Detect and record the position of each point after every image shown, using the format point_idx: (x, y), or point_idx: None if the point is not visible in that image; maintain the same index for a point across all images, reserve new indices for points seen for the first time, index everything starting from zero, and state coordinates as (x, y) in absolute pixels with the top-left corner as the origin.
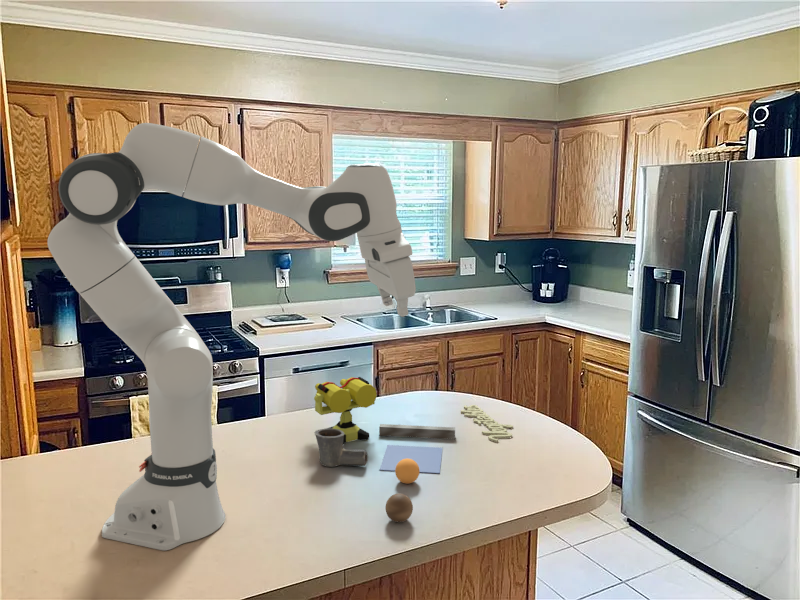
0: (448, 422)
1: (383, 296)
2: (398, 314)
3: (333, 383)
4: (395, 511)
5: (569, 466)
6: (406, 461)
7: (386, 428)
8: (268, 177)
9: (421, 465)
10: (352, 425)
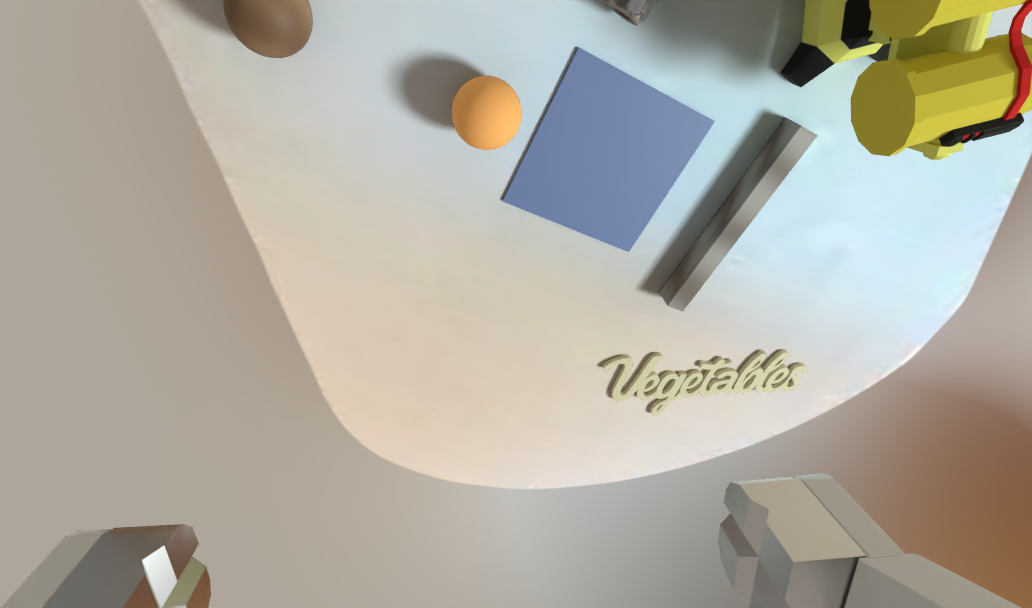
0: (752, 309)
1: (873, 588)
2: (161, 528)
3: None
4: None
5: (452, 435)
6: (481, 117)
7: (783, 144)
8: None
9: (558, 171)
10: (847, 35)
